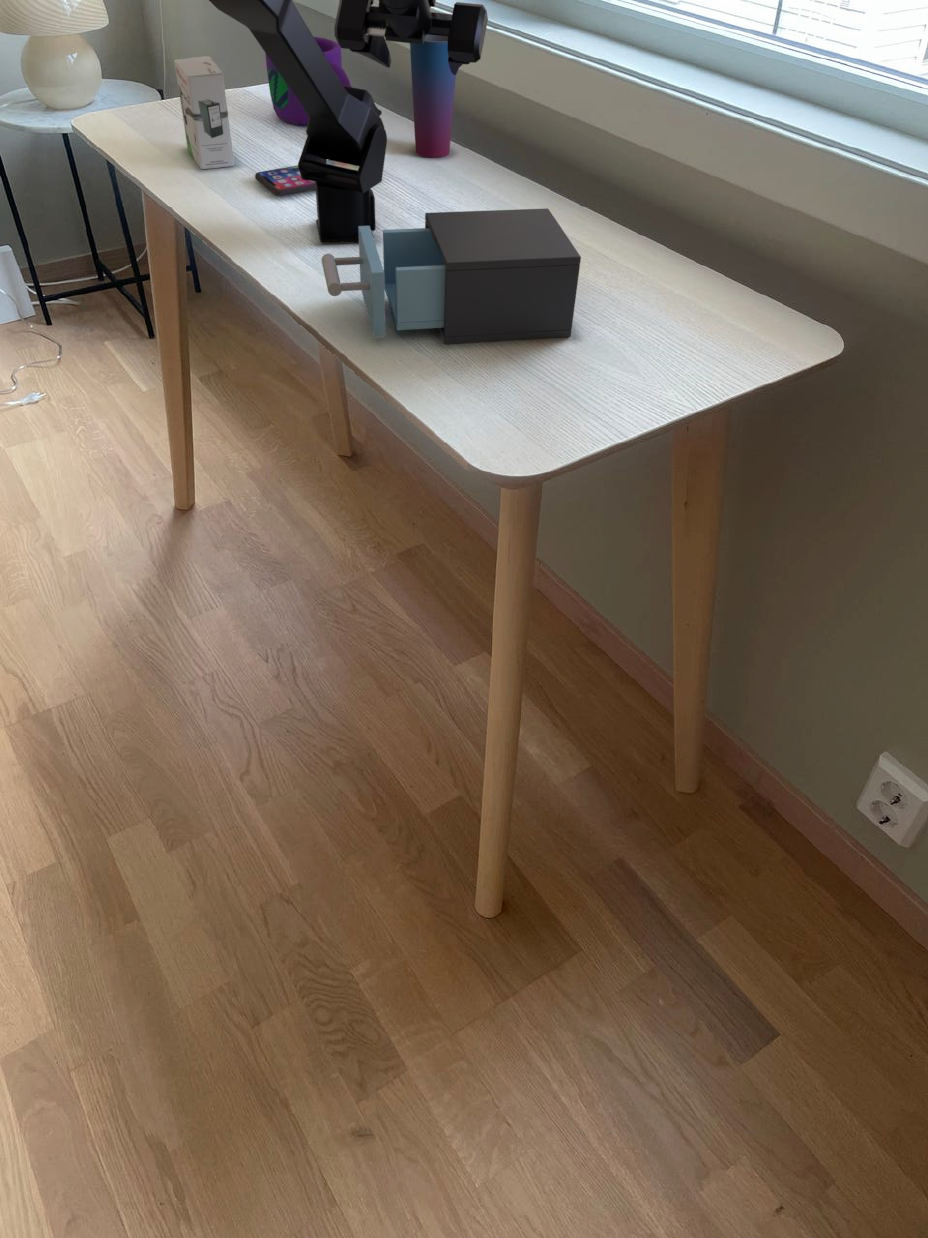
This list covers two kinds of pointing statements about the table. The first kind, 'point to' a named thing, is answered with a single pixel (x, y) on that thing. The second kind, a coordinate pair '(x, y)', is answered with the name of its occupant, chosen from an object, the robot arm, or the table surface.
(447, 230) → the dark grey drawer cabinet
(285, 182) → the smartphone
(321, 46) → the mug
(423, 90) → the cup
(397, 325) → the light blue drawer
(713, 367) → the table surface
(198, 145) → the ink box
